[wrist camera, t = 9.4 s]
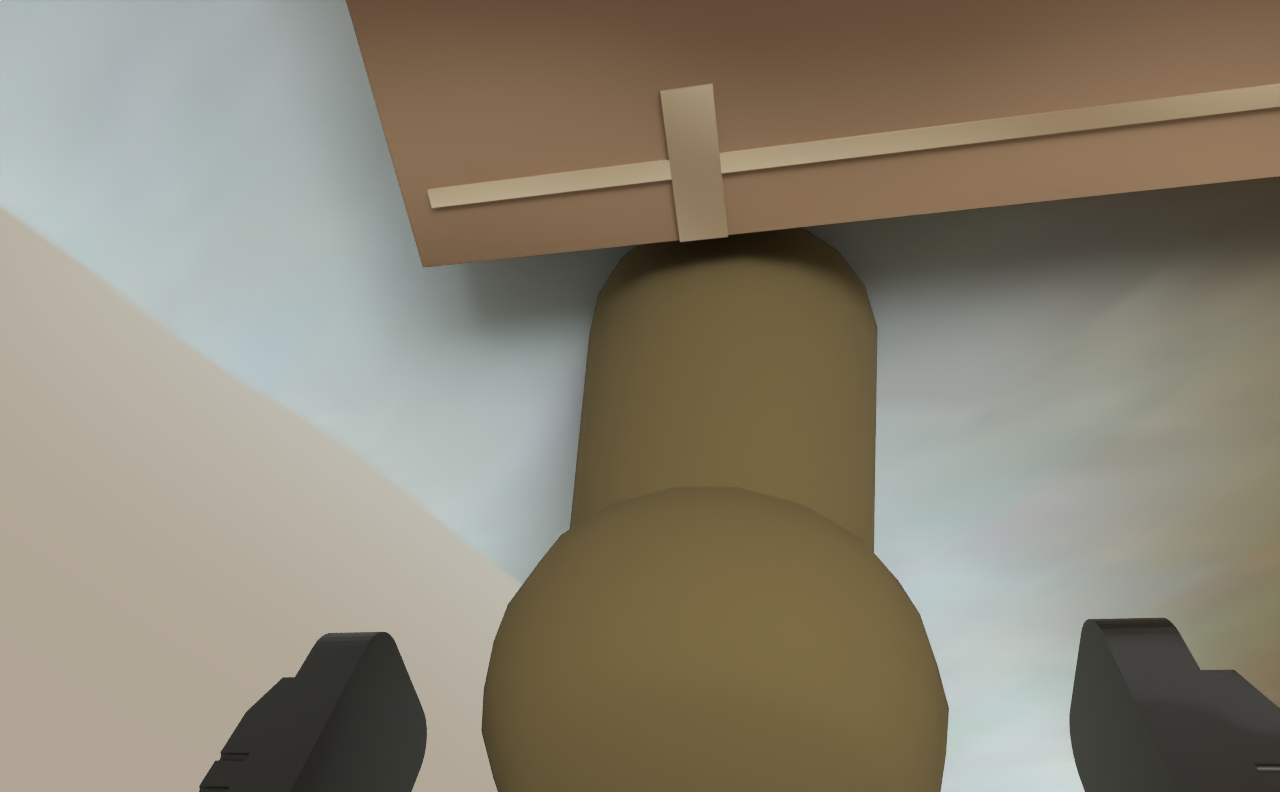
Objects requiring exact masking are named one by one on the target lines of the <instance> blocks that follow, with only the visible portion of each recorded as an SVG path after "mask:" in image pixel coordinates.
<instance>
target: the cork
mask: <svg viewBox="0 0 1280 792" xmlns="http://www.w3.org/2000/svg"><path fill="white" fill-rule="evenodd" d="M876 375H877V325H876V322H875V318H874V315H873V312H872V309H871V305H870V302H869V299H868V296H867V293H866V289H865V286H864V285H863V284H862V282H861V281H860V280H859V279H858V277H857V276H856V275H855V273H854V272H853V271H852V269H851V268H850V267H849V265H848V264H847V263H846V262H845V260H844V259H843V258H842V256H841V255H840V254H839V252H838V251H837V250H835V249H834V248H832V247H831V246H829V245H828V244H826V243H825V242H823V241H822V240H820V239H819V238H817V237H816V236H814V235H812V234H811V233H809V232H808V231H806V230H805V229H803V228H802V227H798V228H789V229H779V230H770V231H761V232H751V233H742V234H732V235H728V237H723V238H713V239H704V240H694V241H685V242H680V240H676V241H667V242H657V243H648V244H639V245H638V246H637V247H636V248H634V249H633V250H632V251H631V252H629V253H628V254H627V255H625V256H624V257H623V258H622V259H621V260H620V262H619V263H618V265H617V266H616V268H615V270H614V271H613V273H612V274H611V276H610V277H609V279H608V281H607V282H606V284H605V285H604V287H603V288H602V290H601V291H600V293H599V295H598V299H597V303H596V308H595V312H594V317H593V321H592V325H591V330H590V334H589V344H588V354H587V364H586V374H585V384H584V394H583V404H582V414H581V424H580V434H579V444H578V453H577V463H576V473H575V483H574V493H573V503H572V513H571V523H570V530H568V531H567V532H565V533H564V534H562V535H561V536H560V537H559V539H558V540H557V541H556V542H555V543H554V545H553V546H552V547H551V548H550V550H549V551H548V552H547V553H546V555H545V556H544V557H543V558H542V560H541V561H540V562H539V564H538V565H537V566H536V568H535V569H534V570H533V572H532V573H531V574H530V576H529V577H528V578H527V580H526V581H525V582H524V584H523V585H522V586H521V588H520V589H519V590H518V592H517V593H516V594H515V596H514V597H513V598H512V600H511V601H510V603H509V604H508V606H507V609H506V611H505V614H504V617H503V619H502V622H501V625H500V627H499V629H498V632H497V635H496V637H495V640H494V643H493V648H492V653H491V658H490V663H489V667H488V672H487V677H486V682H485V687H484V697H483V716H482V734H483V739H484V743H485V746H486V750H487V754H488V758H489V762H490V766H491V770H492V774H493V778H494V781H495V784H496V787H497V790H498V792H940V791H941V784H942V777H943V770H944V763H945V756H946V744H947V728H948V712H949V708H948V704H947V700H946V696H945V693H944V689H943V685H942V681H941V678H940V674H939V670H938V666H937V663H936V660H935V657H934V654H933V651H932V649H931V646H930V643H929V640H928V637H927V634H926V631H925V628H924V625H923V622H922V619H921V616H920V614H919V612H918V611H917V609H916V608H915V606H914V604H913V603H912V601H911V600H910V598H909V597H908V595H907V594H906V592H905V590H904V589H903V587H902V586H901V584H900V583H899V581H898V580H897V579H896V578H895V577H894V575H893V574H892V573H891V572H890V571H889V570H888V569H887V567H886V566H885V565H884V564H883V563H882V562H881V561H880V559H879V558H878V557H877V556H876V555H875V554H874V500H875V437H876Z"/></svg>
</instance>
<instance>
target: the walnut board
mask: <svg viewBox="0 0 1280 792" xmlns="http://www.w3.org/2000/svg"><path fill="white" fill-rule="evenodd" d="M346 2H347V5H348V9H349V12H350V16H351V19H352V23H353V26H354V30H355V33H356V37H357V40H358V44H359V47H360V50H361V54H362V57H363V61H364V64H365V68H366V71H367V75H368V78H369V82H370V85H371V89H372V92H373V96H374V99H375V102H376V106H377V109H378V113H379V116H380V120H381V123H382V127H383V130H384V134H385V137H386V141H387V144H388V148H389V151H390V154H391V158H392V161H393V165H394V168H395V172H396V175H397V179H398V182H399V186H400V189H401V193H402V196H403V200H404V203H405V206H406V210H407V213H408V217H409V220H410V224H411V227H412V231H413V234H414V238H415V241H416V245H417V248H418V251H419V255H420V258H421V262H422V265H423V267H432V266H441V265H451V264H460V263H470V262H479V261H488V260H498V259H507V258H517V257H526V256H535V255H545V254H554V253H564V252H573V251H582V250H592V249H601V248H610V247H620V246H629V245H639V244H648V243H657V242H667V241H676V240H680V242H685V241H694V240H704V239H713V238H723V237H728V235H732V234H742V233H751V232H761V231H770V230H779V229H789V228H798V227H808V226H817V225H826V224H836V223H845V222H854V221H864V220H873V219H883V218H892V217H901V216H911V215H920V214H930V213H939V212H948V211H958V210H967V209H977V208H986V207H995V206H1005V205H1014V204H1023V203H1033V202H1042V201H1052V200H1061V199H1070V198H1080V197H1089V196H1099V195H1108V194H1117V193H1127V192H1136V191H1145V190H1155V189H1164V188H1174V187H1183V186H1192V185H1202V184H1211V183H1221V182H1230V181H1239V180H1249V179H1258V178H1267V177H1277V176H1280V0H346Z"/></svg>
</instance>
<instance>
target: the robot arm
mask: <svg viewBox="0 0 1280 792" xmlns="http://www.w3.org/2000/svg"><path fill="white" fill-rule="evenodd" d="M1070 736H1071V743H1072V749H1073V754H1074V759H1075V763H1076V766H1077V770H1078V773H1079V776H1080V779H1081V782H1082V784H1083V787H1084V790H1085V792H1280V708H1279V707H1278V706H1276V705H1275V704H1274V703H1273V702H1272V701H1270V700H1269V699H1268V698H1267V697H1266V696H1264V695H1263V694H1262V693H1261V692H1260V691H1259V690H1257V689H1256V688H1255V687H1254V686H1253V685H1251V684H1250V683H1249V682H1248V681H1247V680H1245V679H1244V678H1243V677H1242V676H1241V675H1239V674H1238V673H1237V672H1236V671H1235V670H1200V668H1199V666H1198V665H1197V663H1196V661H1195V659H1194V658H1193V656H1192V654H1191V653H1190V651H1189V649H1188V647H1187V646H1186V644H1185V642H1184V640H1183V639H1182V637H1181V635H1180V633H1179V632H1178V630H1177V629H1176V627H1175V626H1174V625H1173V624H1172V623H1171V622H1170V621H1169V620H1168V619H1165V618H1128V619H1088V620H1086V621H1085V623H1084V625H1083V628H1082V632H1081V639H1080V645H1079V652H1078V659H1077V666H1076V673H1075V680H1074V687H1073V694H1072V701H1071V708H1070ZM426 737H427V728H426V719H425V715H424V712H423V709H422V706H421V704H420V701H419V699H418V696H417V694H416V692H415V689H414V687H413V684H412V682H411V680H410V677H409V674H408V672H407V670H406V667H405V665H404V662H403V660H402V657H401V655H400V653H399V650H398V648H397V645H396V643H395V641H394V639H393V638H392V637H391V635H389V634H388V633H386V632H362V633H361V632H360V633H328V634H325V635H324V636H322V637H321V638H320V639H319V640H318V641H317V642H316V644H315V645H314V647H313V648H312V650H311V652H310V653H309V655H308V656H307V658H306V660H305V661H304V663H303V665H302V667H301V668H300V670H299V671H298V673H297V675H296V677H294V678H293V677H292V678H291V677H289V678H282V679H281V680H280V681H279V682H278V683H277V684H276V685H275V686H273V687H272V688H271V689H270V690H269V691H268V692H267V693H266V694H265V695H264V696H263V697H262V698H261V699H260V700H259V701H258V702H257V703H255V704H254V705H253V706H252V707H251V708H250V709H249V710H248V711H247V712H246V713H245V715H244V716H243V718H242V719H241V721H240V723H239V724H238V726H237V727H236V729H235V731H234V732H233V734H232V735H231V737H230V738H229V740H228V742H227V743H226V745H225V746H224V748H223V749H222V751H221V758H220V760H219V761H215V762H214V764H213V765H212V767H211V769H210V770H209V772H208V773H207V775H206V776H205V778H204V780H203V781H202V783H201V785H200V786H199V787H200V791H199V792H411V791H412V789H413V786H414V783H415V781H416V778H417V776H418V773H419V771H420V768H421V765H422V762H423V758H424V754H425V749H426Z"/></svg>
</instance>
